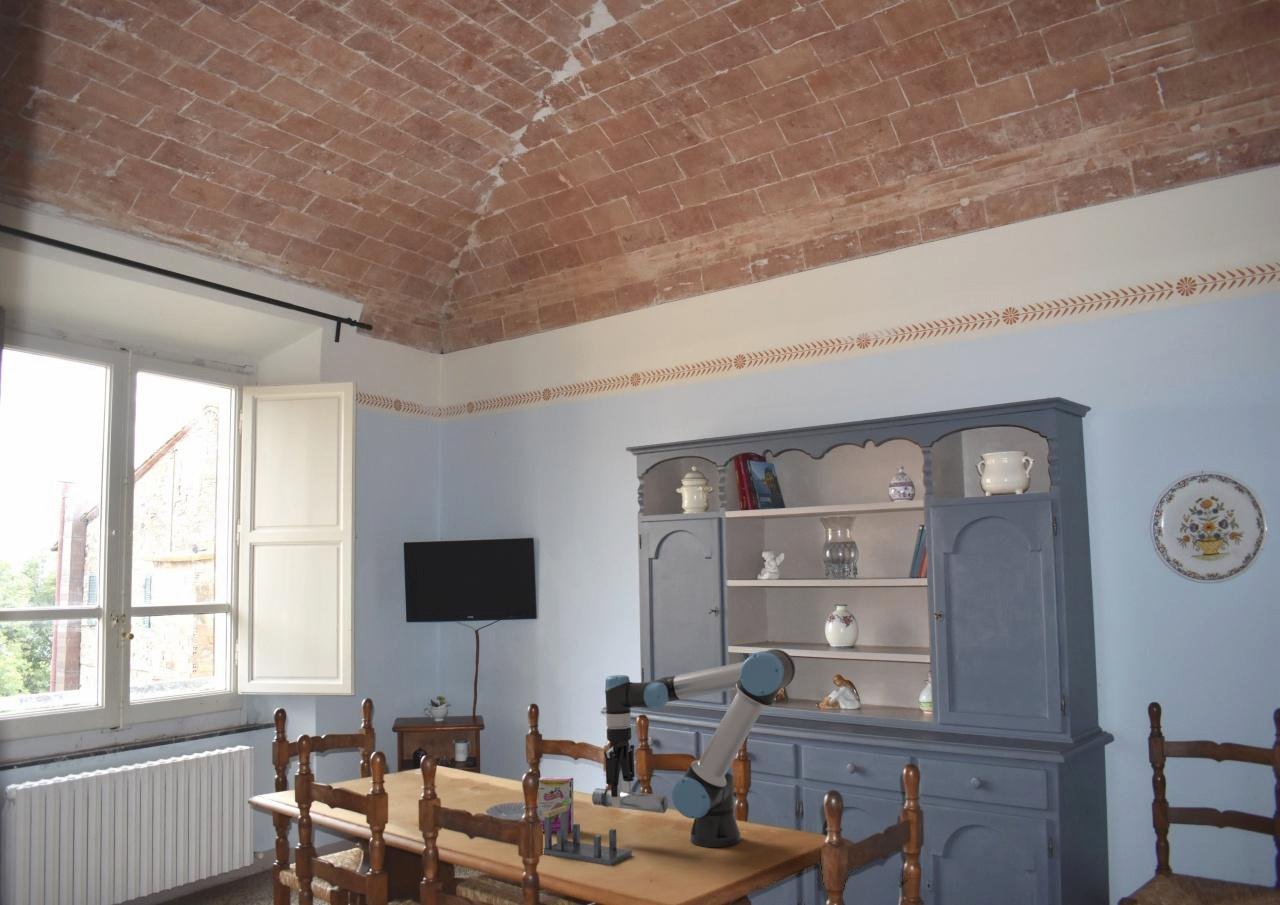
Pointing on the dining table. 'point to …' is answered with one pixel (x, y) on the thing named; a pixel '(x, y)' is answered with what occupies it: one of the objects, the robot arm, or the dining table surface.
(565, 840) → the collar board
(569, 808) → the candy bar box
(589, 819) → the dining table surface
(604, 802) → the tube
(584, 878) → the dining table surface
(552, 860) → the dining table surface
